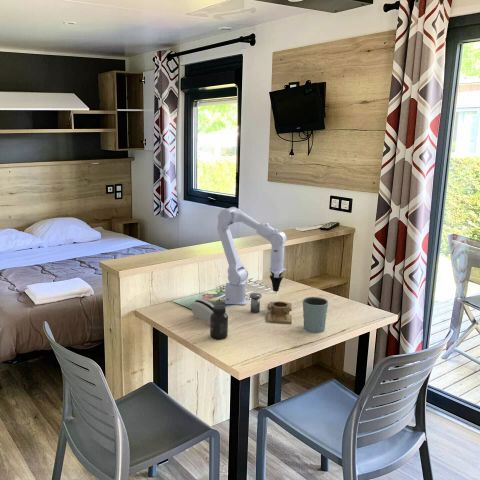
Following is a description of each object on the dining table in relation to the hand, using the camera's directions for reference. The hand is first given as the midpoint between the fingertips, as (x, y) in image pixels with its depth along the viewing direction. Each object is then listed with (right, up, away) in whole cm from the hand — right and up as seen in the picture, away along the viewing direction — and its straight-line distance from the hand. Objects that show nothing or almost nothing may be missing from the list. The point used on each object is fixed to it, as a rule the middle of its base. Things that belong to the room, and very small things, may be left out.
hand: (275, 288), depth 219 cm
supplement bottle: (-24, -16, -29) cm, 41 cm away
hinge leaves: (+2, -11, -3) cm, 11 cm away
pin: (-9, -10, -2) cm, 14 cm away
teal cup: (+14, -15, -19) cm, 28 cm away
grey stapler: (-30, -12, -14) cm, 35 cm away
